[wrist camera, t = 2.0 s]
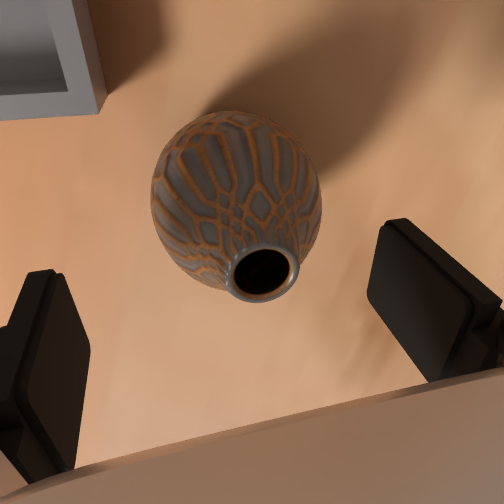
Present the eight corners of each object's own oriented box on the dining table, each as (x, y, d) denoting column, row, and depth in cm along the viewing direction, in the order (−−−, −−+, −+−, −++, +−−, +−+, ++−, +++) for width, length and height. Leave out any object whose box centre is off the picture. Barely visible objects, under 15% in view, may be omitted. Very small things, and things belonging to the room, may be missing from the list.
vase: (192, 62, 16) (221, 121, 9) (316, 140, 19) (411, 229, 12) (128, 196, 19) (110, 322, 12) (246, 245, 22) (288, 368, 15)
